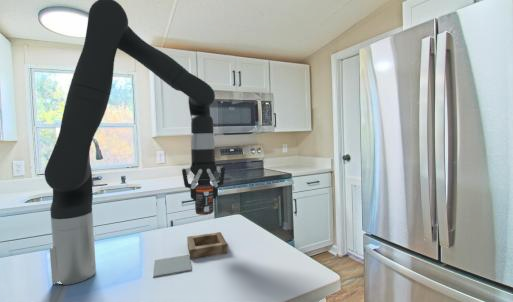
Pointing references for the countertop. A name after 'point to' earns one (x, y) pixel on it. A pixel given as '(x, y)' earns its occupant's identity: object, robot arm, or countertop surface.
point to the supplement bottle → (204, 197)
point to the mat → (172, 265)
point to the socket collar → (206, 249)
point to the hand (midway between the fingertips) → (204, 198)
